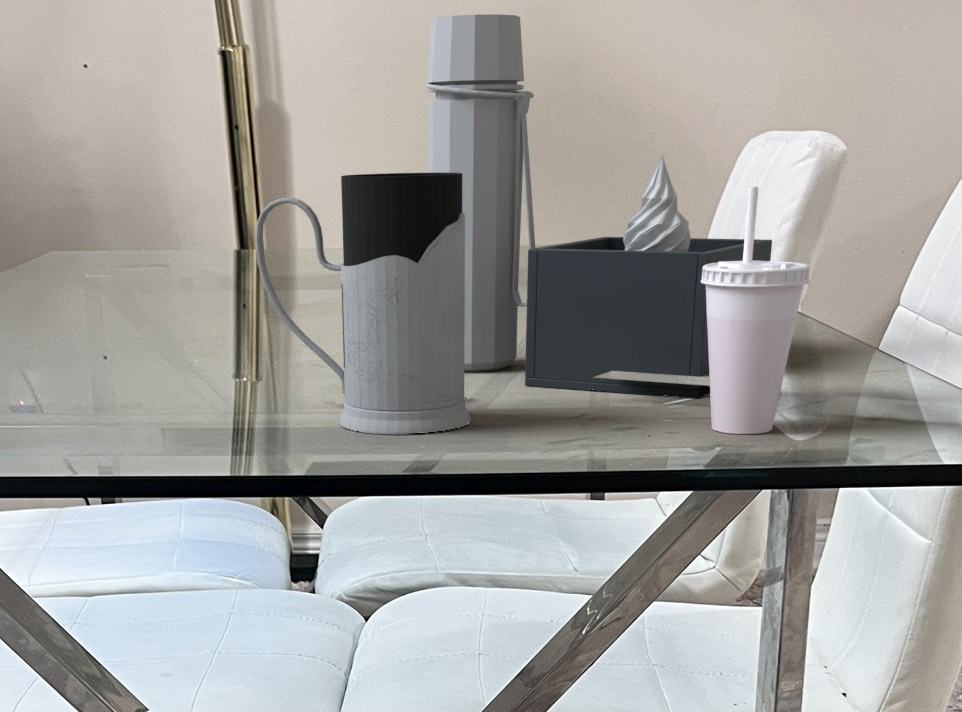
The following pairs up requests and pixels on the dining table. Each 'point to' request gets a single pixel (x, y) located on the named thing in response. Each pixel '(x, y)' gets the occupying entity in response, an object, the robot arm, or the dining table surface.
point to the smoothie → (749, 333)
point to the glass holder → (396, 300)
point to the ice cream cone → (658, 218)
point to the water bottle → (484, 168)
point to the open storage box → (621, 314)
